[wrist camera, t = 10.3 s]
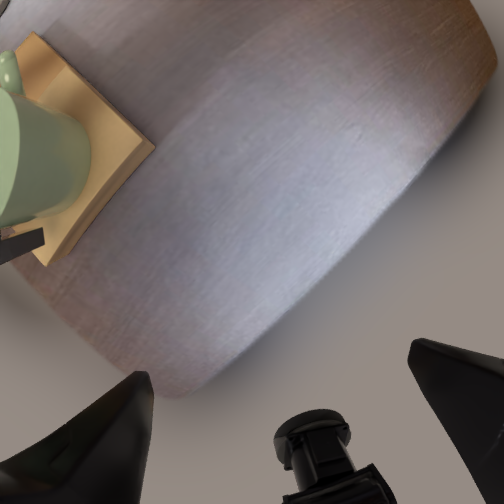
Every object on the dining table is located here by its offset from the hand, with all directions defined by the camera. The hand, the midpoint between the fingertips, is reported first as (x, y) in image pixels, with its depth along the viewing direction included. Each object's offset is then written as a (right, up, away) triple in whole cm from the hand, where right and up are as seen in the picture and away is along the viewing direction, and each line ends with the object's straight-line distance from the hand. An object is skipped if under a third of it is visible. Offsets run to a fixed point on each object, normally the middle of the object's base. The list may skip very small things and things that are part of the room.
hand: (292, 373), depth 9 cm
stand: (-17, +13, +8) cm, 22 cm away
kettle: (-13, +9, +5) cm, 17 cm away
